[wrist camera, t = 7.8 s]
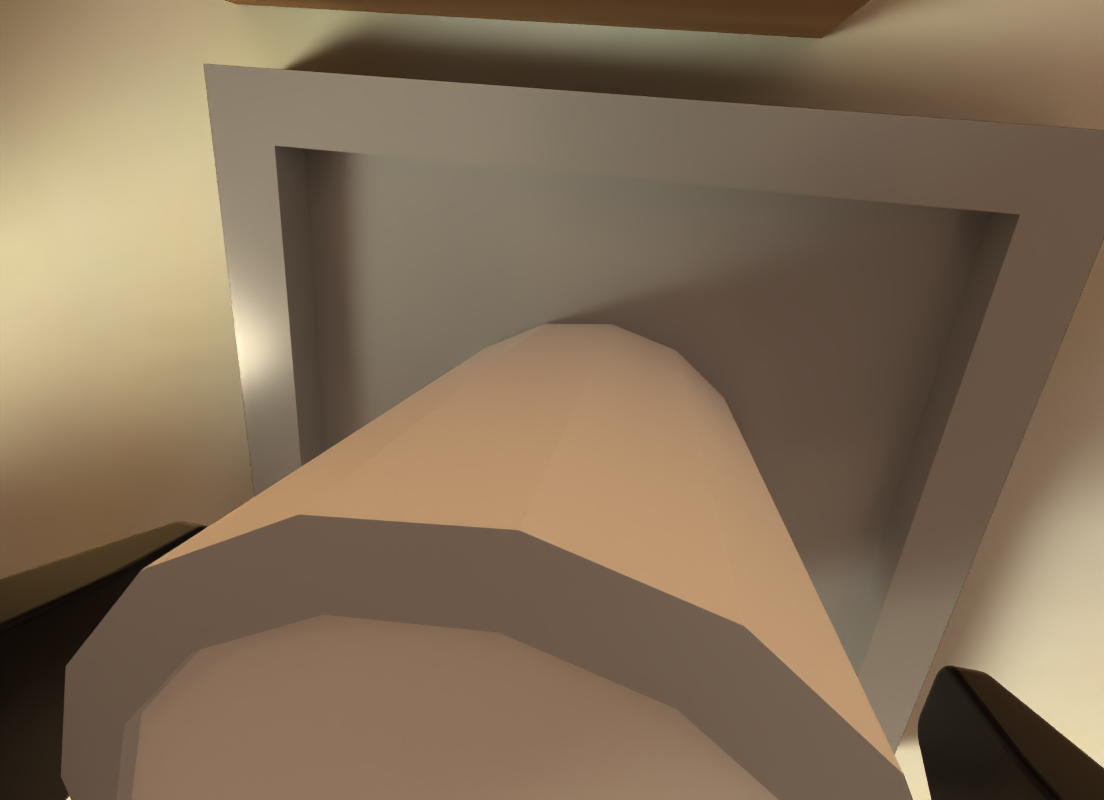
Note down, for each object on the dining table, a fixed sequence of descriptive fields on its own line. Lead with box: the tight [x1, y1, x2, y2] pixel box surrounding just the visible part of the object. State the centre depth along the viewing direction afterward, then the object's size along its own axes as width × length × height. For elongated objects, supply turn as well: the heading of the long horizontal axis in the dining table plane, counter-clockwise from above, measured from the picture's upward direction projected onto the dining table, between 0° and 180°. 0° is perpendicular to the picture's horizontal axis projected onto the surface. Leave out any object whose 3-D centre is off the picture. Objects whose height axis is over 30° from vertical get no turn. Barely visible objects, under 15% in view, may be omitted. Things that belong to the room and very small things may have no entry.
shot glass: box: [61, 324, 913, 800], centre depth 8 cm, size 7×7×7 cm
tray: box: [204, 64, 1104, 755], centre depth 11 cm, size 12×12×2 cm
